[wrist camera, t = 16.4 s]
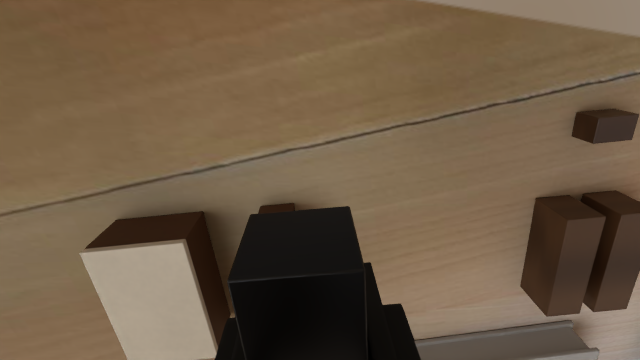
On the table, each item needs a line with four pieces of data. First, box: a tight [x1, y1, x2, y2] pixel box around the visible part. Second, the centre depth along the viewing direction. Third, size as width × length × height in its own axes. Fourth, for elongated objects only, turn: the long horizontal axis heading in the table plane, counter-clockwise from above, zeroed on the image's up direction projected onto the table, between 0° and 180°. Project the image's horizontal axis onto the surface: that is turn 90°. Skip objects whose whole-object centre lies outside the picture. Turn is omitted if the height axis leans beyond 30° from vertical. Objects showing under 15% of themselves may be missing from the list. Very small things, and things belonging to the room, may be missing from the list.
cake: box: [80, 212, 230, 360], centre depth 29 cm, size 12×8×5 cm, turn 6°
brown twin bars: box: [521, 109, 640, 317], centre depth 28 cm, size 18×7×4 cm, turn 5°
